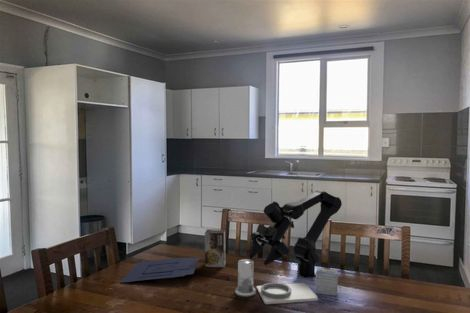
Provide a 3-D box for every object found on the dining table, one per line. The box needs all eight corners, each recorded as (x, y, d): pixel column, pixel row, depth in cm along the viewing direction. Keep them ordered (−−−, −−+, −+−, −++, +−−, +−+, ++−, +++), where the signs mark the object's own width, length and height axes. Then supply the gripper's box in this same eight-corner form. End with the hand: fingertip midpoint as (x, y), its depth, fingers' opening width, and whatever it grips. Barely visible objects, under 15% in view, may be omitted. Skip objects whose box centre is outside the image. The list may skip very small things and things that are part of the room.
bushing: (253, 287, 145) (253, 257, 144) (258, 296, 137) (258, 264, 136) (233, 288, 143) (233, 258, 143) (237, 297, 135) (237, 266, 135)
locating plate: (304, 285, 147) (304, 279, 147) (318, 300, 133) (318, 293, 133) (256, 288, 144) (256, 282, 144) (265, 304, 130) (265, 297, 130)
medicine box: (337, 292, 141) (338, 270, 141) (337, 296, 137) (337, 274, 136) (317, 289, 144) (317, 267, 143) (315, 293, 139) (316, 271, 139)
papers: (193, 282, 146) (192, 273, 146) (120, 289, 148) (119, 280, 148) (201, 261, 171) (200, 254, 171) (138, 268, 172) (137, 260, 172)
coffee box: (225, 262, 173) (226, 229, 172) (224, 267, 166) (224, 232, 166) (206, 262, 174) (207, 228, 173) (204, 266, 167) (204, 232, 167)
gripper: (254, 213, 153) (231, 243, 147) (284, 221, 137) (261, 255, 131) (268, 229, 157) (247, 259, 152) (298, 239, 142) (277, 272, 136)
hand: (257, 261), depth 143 cm, fingers open, 9 cm apart
